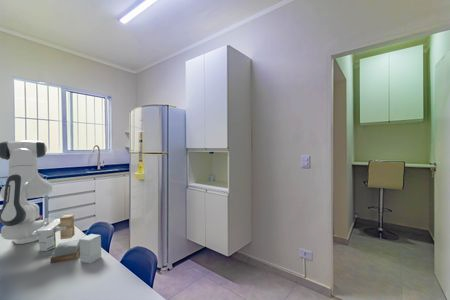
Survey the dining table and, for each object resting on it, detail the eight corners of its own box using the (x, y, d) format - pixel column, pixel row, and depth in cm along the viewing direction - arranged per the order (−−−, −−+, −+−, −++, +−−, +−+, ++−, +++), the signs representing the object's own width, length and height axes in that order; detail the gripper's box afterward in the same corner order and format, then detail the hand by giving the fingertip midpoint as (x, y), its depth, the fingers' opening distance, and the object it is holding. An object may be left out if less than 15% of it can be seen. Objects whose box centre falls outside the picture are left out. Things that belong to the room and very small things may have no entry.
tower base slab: (60, 253, 125) (59, 247, 125) (83, 250, 129) (83, 244, 129) (50, 264, 114) (50, 258, 114) (76, 260, 118) (76, 254, 118)
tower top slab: (59, 249, 124) (59, 243, 124) (79, 245, 128) (79, 239, 128) (54, 257, 115) (54, 250, 115) (76, 252, 119) (76, 246, 119)
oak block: (64, 235, 123) (64, 215, 123) (74, 234, 125) (74, 214, 124) (60, 239, 118) (60, 217, 118) (71, 238, 120) (70, 216, 120)
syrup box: (46, 251, 127) (45, 227, 127) (38, 250, 128) (38, 226, 128) (56, 246, 133) (55, 223, 133) (48, 246, 134) (47, 223, 134)
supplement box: (101, 257, 120) (101, 234, 119) (90, 264, 112) (89, 240, 112) (91, 255, 122) (91, 233, 122) (79, 262, 115) (78, 238, 114)
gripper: (28, 229, 108) (60, 226, 112) (49, 217, 127) (75, 214, 131) (29, 242, 108) (61, 238, 112) (49, 227, 127) (76, 224, 131)
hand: (69, 225), depth 122 cm, fingers closed on oak block, 5 cm apart
